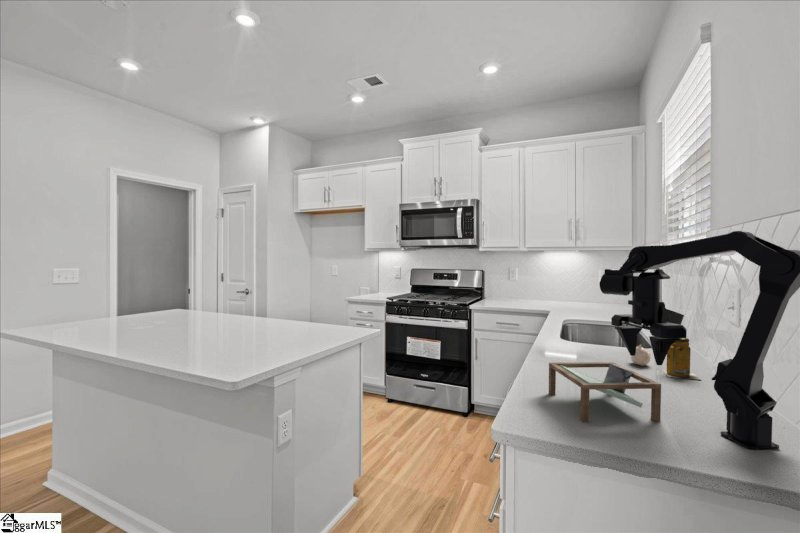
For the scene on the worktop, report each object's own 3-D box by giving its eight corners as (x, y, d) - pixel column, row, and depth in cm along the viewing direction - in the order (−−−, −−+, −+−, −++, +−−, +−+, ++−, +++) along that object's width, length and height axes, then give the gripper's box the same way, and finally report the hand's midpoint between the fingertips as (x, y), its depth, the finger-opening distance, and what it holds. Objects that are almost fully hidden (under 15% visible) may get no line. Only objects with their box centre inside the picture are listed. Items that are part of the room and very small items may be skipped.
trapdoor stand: (660, 421, 87) (661, 384, 86) (583, 422, 86) (583, 385, 86) (612, 392, 105) (613, 362, 104) (548, 393, 104) (549, 362, 104)
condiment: (662, 370, 125) (663, 334, 125) (694, 374, 122) (695, 336, 121) (668, 377, 118) (669, 339, 118) (701, 381, 115) (702, 341, 115)
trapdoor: (641, 407, 88) (642, 403, 88) (586, 386, 88) (588, 382, 88) (605, 386, 102) (607, 383, 102) (558, 368, 102) (560, 364, 102)
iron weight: (628, 395, 93) (636, 374, 93) (610, 388, 93) (618, 367, 93) (616, 388, 98) (623, 368, 98) (598, 381, 98) (606, 361, 98)
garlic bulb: (625, 363, 133) (625, 340, 133) (636, 361, 136) (637, 339, 136) (644, 368, 127) (644, 344, 127) (656, 366, 130) (656, 343, 130)
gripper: (709, 300, 85) (709, 370, 85) (649, 293, 104) (649, 350, 104) (662, 301, 84) (662, 371, 85) (610, 294, 103) (610, 351, 103)
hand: (645, 360), depth 94 cm, fingers open, 9 cm apart
